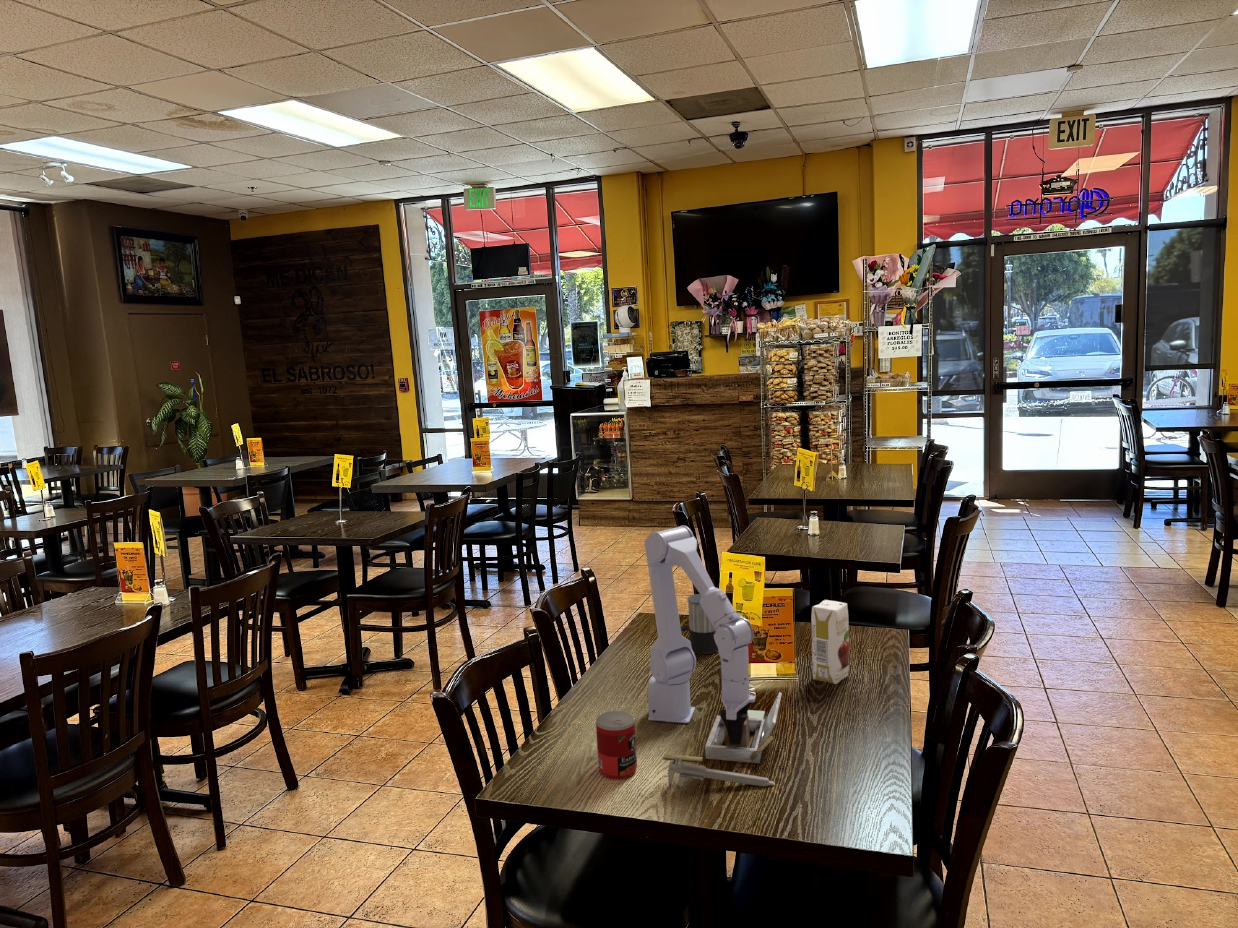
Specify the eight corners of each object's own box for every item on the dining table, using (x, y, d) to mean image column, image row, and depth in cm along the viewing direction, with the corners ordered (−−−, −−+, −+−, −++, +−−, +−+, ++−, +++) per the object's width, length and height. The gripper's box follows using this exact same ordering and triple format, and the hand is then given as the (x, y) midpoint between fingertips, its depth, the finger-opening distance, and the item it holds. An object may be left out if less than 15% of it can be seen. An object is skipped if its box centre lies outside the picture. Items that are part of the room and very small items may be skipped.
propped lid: (749, 760, 167) (748, 722, 166) (758, 725, 182) (757, 690, 181) (775, 763, 166) (774, 724, 165) (782, 727, 181) (781, 691, 180)
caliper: (668, 789, 160) (667, 758, 159) (668, 786, 161) (667, 755, 160) (775, 787, 159) (774, 756, 158) (774, 784, 160) (773, 753, 159)
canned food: (624, 783, 163) (622, 730, 161) (590, 774, 167) (587, 722, 165) (644, 766, 169) (641, 714, 168) (611, 757, 173) (608, 707, 172)
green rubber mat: (724, 724, 186) (724, 723, 186) (730, 709, 193) (730, 708, 193) (760, 727, 183) (760, 726, 183) (764, 712, 191) (764, 711, 191)
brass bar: (663, 759, 172) (663, 755, 172) (664, 757, 173) (664, 753, 173) (702, 763, 170) (702, 759, 170) (702, 761, 171) (702, 757, 170)
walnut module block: (725, 747, 175) (724, 721, 174) (728, 738, 179) (727, 712, 178) (746, 749, 174) (745, 722, 173) (749, 739, 178) (748, 713, 177)
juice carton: (809, 679, 208) (807, 606, 206) (825, 669, 215) (823, 597, 212) (837, 686, 203) (835, 611, 201) (852, 675, 210) (851, 602, 207)
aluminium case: (705, 758, 171) (705, 746, 170) (717, 726, 185) (717, 715, 185) (759, 763, 168) (759, 750, 167) (767, 730, 182) (767, 718, 182)
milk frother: (719, 655, 228) (717, 603, 226) (663, 653, 232) (661, 602, 230) (725, 638, 242) (723, 588, 240) (671, 636, 246) (669, 587, 244)
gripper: (750, 691, 166) (752, 755, 168) (758, 664, 180) (760, 723, 182) (715, 689, 168) (717, 752, 170) (726, 662, 182) (728, 721, 184)
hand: (737, 737), depth 176 cm, fingers closed on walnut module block, 4 cm apart
